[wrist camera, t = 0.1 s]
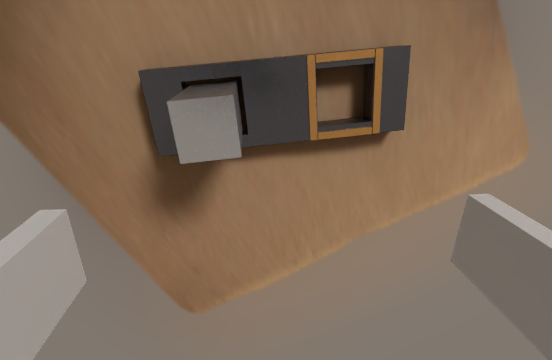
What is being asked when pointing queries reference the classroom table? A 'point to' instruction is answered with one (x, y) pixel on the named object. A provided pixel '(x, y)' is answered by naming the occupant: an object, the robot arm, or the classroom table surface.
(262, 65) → the peg insertion base
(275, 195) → the classroom table surface
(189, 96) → the square gray post
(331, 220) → the classroom table surface
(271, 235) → the classroom table surface
